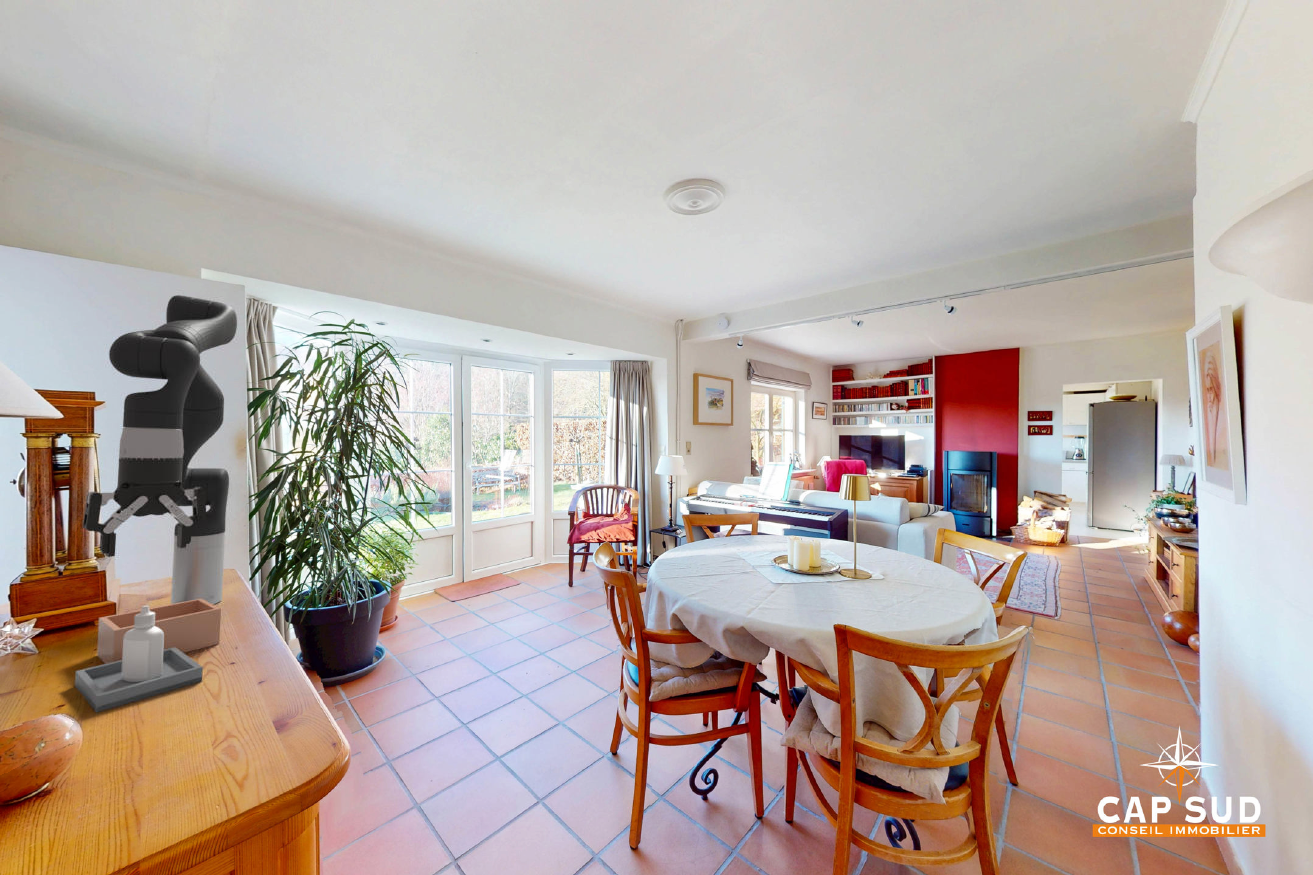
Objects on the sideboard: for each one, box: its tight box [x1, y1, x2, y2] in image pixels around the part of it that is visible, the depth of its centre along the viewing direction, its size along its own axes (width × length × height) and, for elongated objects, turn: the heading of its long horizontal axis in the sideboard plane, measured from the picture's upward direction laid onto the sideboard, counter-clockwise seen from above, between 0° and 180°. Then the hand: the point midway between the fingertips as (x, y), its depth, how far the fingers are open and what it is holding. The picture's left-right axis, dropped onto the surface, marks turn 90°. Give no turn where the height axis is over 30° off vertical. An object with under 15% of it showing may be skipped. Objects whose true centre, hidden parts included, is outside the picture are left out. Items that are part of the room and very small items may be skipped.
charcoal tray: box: [74, 647, 204, 714], centre depth 82 cm, size 14×12×2 cm
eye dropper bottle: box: [121, 605, 164, 682], centre depth 82 cm, size 4×6×12 cm
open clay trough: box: [96, 599, 222, 664], centre depth 95 cm, size 11×15×7 cm
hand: (147, 551), depth 83 cm, fingers open, 8 cm apart
